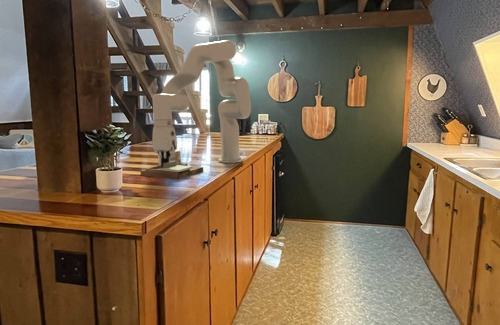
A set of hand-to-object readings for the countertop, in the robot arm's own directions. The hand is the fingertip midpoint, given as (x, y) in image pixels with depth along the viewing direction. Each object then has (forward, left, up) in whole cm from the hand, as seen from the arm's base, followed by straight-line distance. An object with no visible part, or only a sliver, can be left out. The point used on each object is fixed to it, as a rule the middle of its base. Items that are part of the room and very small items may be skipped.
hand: (165, 166), depth 153 cm
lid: (0, +6, 0) cm, 7 cm away
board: (-4, 0, -4) cm, 6 cm away
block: (-9, -3, -2) cm, 10 cm away
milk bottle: (-19, -17, -4) cm, 26 cm away
